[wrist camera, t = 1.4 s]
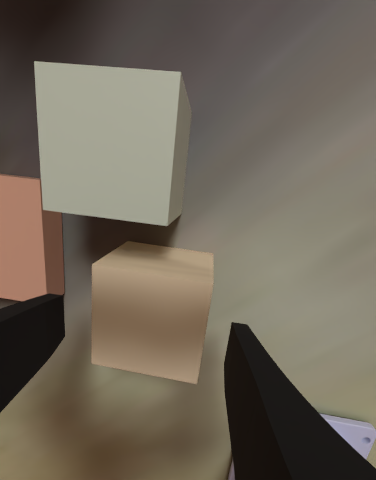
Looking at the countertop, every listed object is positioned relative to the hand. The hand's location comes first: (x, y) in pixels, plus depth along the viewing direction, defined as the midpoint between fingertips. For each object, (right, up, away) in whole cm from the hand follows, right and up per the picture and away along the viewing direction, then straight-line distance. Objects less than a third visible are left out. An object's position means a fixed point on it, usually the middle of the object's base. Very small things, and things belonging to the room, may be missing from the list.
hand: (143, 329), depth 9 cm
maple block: (+1, +1, +4) cm, 4 cm away
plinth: (-9, +4, +4) cm, 11 cm away
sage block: (-1, +8, +3) cm, 8 cm away
